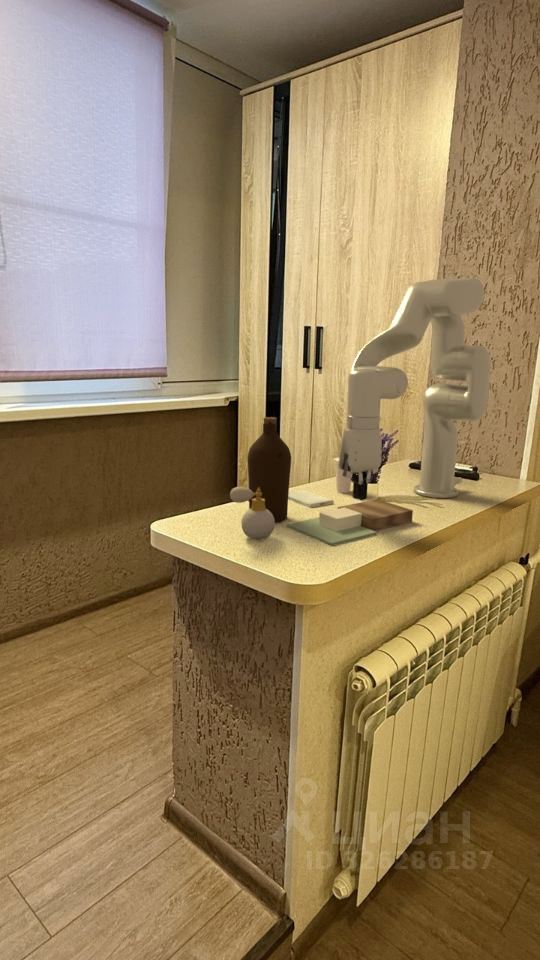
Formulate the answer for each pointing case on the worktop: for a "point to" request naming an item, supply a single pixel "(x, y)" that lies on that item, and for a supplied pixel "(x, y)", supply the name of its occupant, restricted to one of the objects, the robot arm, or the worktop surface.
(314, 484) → the worktop surface
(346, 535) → the mat
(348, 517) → the cream rectangular block
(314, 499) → the hard drive
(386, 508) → the wooden block
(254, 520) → the perfume bottle
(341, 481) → the smoothie
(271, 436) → the olive oil
